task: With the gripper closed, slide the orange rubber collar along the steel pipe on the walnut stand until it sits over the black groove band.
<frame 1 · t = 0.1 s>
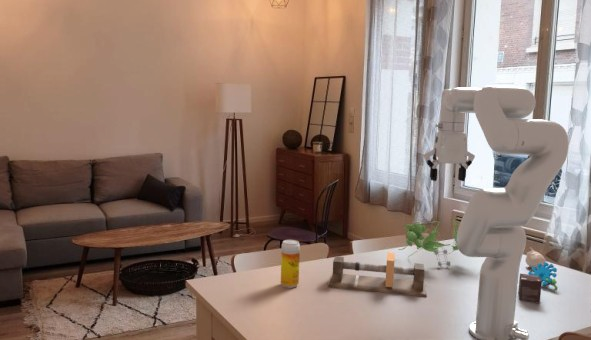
hand: (447, 180, 163), 37 cm above the table, tool pointing down, fingers open, 9 cm apart
blue lobed piece: (542, 285, 176), on the table
plant cuttings: (437, 264, 196), on the table
garlic bulb: (534, 268, 194), on the table
pipe stand: (377, 285, 170), on the table
box: (528, 299, 162), on the table
collar: (390, 269, 169), point 6 cm above the table, slide at -4.0 cm
beer can: (289, 285, 168), on the table
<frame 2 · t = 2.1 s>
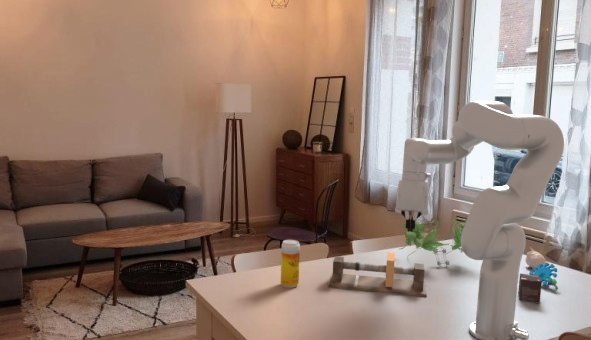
hand: (409, 230, 166), 20 cm above the table, tool pointing down, fingers closed
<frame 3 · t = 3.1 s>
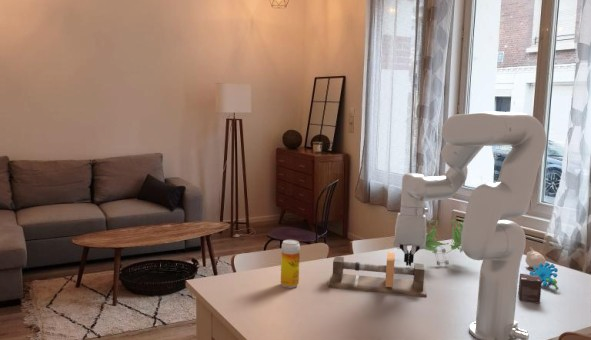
hand: (408, 264, 167), 8 cm above the table, tool pointing down, fingers closed
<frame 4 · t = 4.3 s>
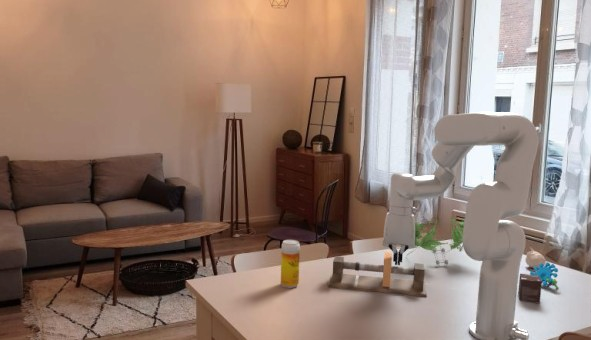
hand: (397, 263, 168), 8 cm above the table, tool pointing down, fingers closed
collar: (387, 269, 169), point 6 cm above the table, slide at -3.1 cm, touching gripper
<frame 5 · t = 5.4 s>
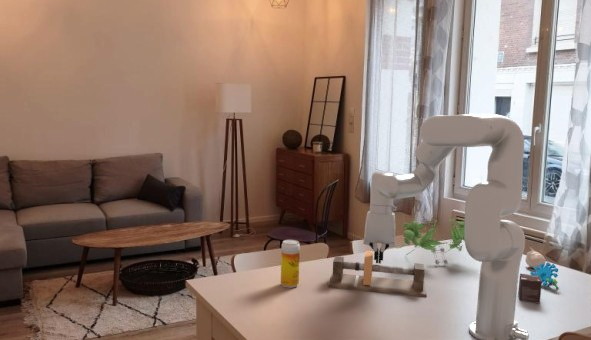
hand: (378, 262, 169), 8 cm above the table, tool pointing down, fingers closed
collar: (368, 267, 170), point 6 cm above the table, slide at 3.3 cm, touching gripper
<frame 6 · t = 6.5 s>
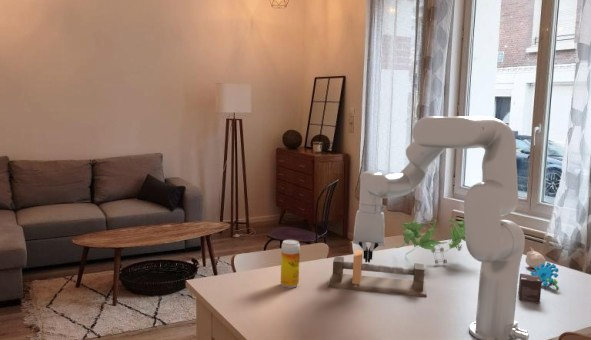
hand: (367, 261, 170), 8 cm above the table, tool pointing down, fingers closed
collar: (357, 266, 171), point 6 cm above the table, slide at 6.9 cm, touching gripper
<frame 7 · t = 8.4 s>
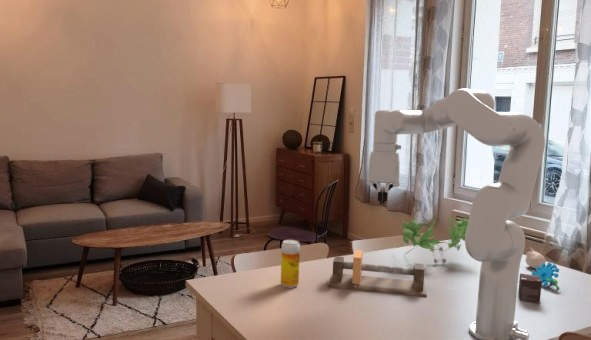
hand: (382, 203, 166), 29 cm above the table, tool pointing down, fingers closed
collar: (357, 266, 171), point 6 cm above the table, slide at 6.9 cm
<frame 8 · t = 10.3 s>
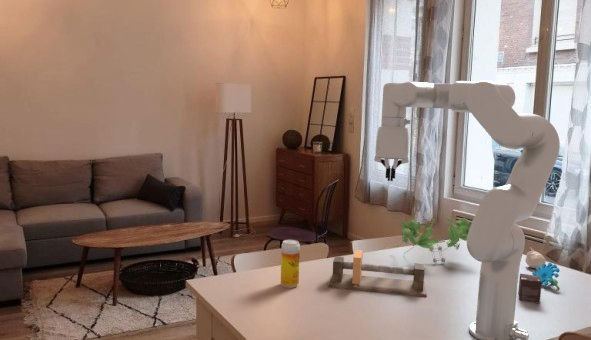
hand: (390, 180, 160), 37 cm above the table, tool pointing down, fingers closed
at the end: collar slide at 6.9 cm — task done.
